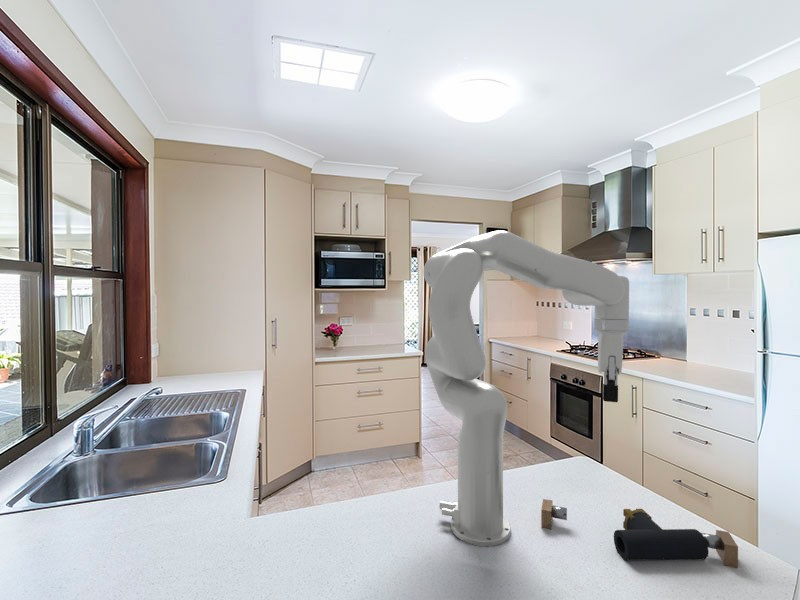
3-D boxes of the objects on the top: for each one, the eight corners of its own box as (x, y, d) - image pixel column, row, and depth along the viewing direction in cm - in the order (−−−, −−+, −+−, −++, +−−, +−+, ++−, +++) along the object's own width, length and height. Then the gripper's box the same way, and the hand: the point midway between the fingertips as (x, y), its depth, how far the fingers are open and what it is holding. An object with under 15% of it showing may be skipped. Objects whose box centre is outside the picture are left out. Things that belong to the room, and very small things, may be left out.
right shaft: (704, 561, 77) (704, 540, 77) (697, 546, 82) (697, 526, 81) (738, 568, 75) (738, 546, 75) (728, 552, 80) (728, 532, 80)
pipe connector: (597, 506, 88) (667, 505, 88) (597, 530, 88) (667, 529, 88) (628, 539, 76) (708, 538, 76) (627, 567, 76) (708, 566, 76)
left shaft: (541, 528, 88) (541, 509, 88) (543, 516, 93) (543, 498, 93) (566, 533, 86) (566, 514, 86) (566, 521, 91) (566, 503, 91)
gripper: (593, 324, 109) (592, 393, 109) (594, 327, 95) (594, 406, 96) (625, 325, 106) (625, 396, 106) (631, 328, 92) (630, 410, 92)
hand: (610, 400), depth 101 cm, fingers closed
